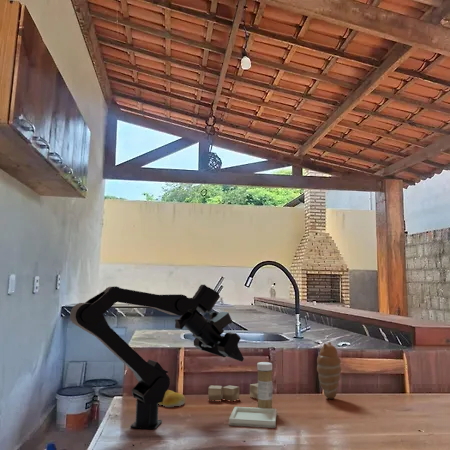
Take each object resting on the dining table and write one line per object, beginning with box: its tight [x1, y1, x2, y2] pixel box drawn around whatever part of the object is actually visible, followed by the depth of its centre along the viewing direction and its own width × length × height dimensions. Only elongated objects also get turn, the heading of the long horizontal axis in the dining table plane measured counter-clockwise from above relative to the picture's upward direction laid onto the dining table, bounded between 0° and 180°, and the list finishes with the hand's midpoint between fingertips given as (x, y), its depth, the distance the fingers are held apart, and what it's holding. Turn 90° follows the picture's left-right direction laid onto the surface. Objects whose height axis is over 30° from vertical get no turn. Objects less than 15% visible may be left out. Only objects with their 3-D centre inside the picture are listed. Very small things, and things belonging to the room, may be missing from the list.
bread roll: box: [158, 389, 186, 408], centre depth 126 cm, size 8×9×4 cm
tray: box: [228, 406, 278, 429], centre depth 111 cm, size 12×12×2 cm
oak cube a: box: [207, 385, 223, 401], centre depth 132 cm, size 4×4×4 cm
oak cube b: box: [222, 385, 240, 402], centre depth 132 cm, size 4×4×4 cm
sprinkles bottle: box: [256, 361, 274, 409], centre depth 121 cm, size 5×5×13 cm
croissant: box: [316, 341, 342, 400], centre depth 136 cm, size 9×8×18 cm
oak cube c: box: [249, 382, 258, 400], centre depth 136 cm, size 4×4×4 cm
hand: (234, 358), depth 122 cm, fingers open, 9 cm apart
